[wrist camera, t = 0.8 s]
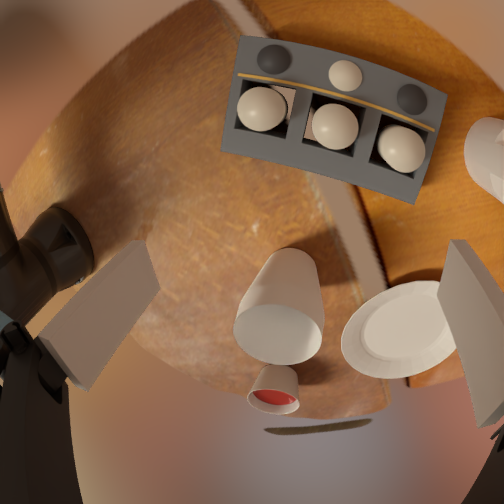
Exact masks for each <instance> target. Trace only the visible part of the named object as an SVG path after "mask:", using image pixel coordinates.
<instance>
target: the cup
mask: <svg viewBox="0 0 504 504" xmlns="http://www.w3.org/2000/svg"><path fill="white" fill-rule="evenodd" d="M324 321H325V316H324V308H323V302H322V296H321V290H320V285H319V279H318V274H317V268H316V265H315V262H314V260H313V259H312V258H311V257H310V256H309V255H308V254H307V253H305V252H304V251H302V250H299V249H295V248H284V249H280V250H278V251H276V252H274V253H273V254H272V255H271V256H270V257H269V258H268V260H267V261H266V263H265V264H264V266H263V267H262V269H261V270H260V272H259V273H258V275H257V277H256V278H255V280H254V281H253V283H252V284H251V286H250V287H249V289H248V290H247V292H246V293H245V295H244V297H243V298H242V300H241V302H240V305H239V309H238V313H237V316H236V319H235V322H234V326H233V334H234V337H235V340H236V342H237V343H238V345H239V346H240V347H241V348H242V349H243V350H244V351H245V352H246V353H247V354H249V355H250V356H252V357H253V358H255V359H257V360H260V361H262V362H266V363H269V364H275V365H292V364H297V363H301V362H304V361H306V360H308V359H309V358H311V357H312V356H313V355H315V354H316V352H317V351H318V350H319V348H320V345H321V341H322V333H323V327H324Z"/></svg>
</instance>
